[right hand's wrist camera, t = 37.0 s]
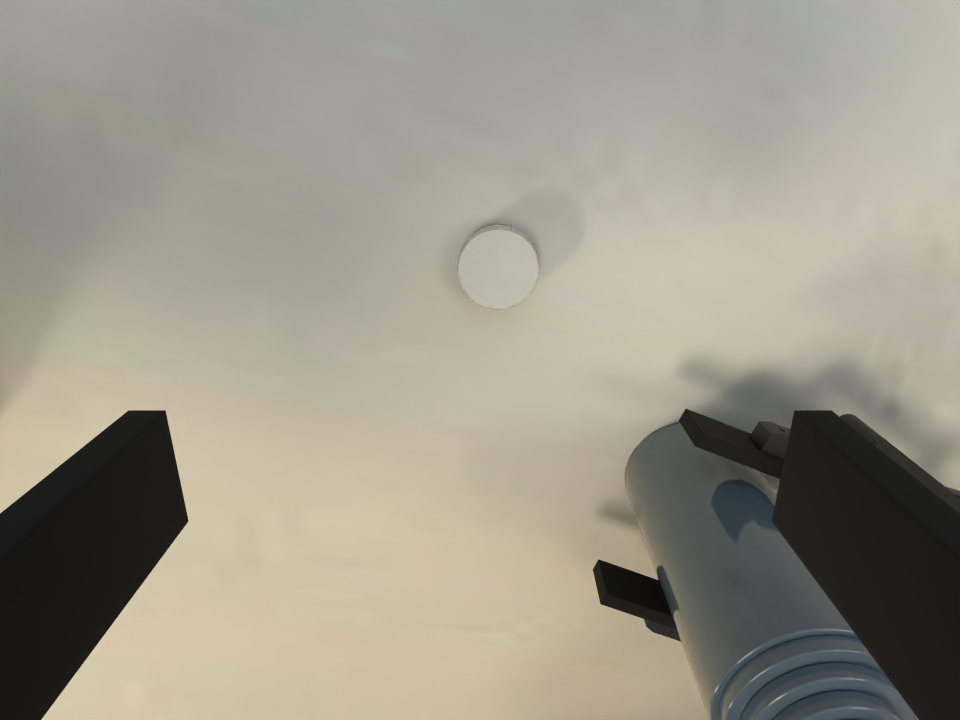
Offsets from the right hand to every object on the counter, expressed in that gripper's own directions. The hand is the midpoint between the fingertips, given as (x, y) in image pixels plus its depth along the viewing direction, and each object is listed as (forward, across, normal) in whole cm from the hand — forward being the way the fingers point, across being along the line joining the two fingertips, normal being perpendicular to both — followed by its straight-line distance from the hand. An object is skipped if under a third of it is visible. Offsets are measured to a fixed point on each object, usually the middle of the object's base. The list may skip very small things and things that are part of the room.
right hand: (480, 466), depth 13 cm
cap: (+20, +1, 0) cm, 20 cm away
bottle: (+21, +13, -13) cm, 28 cm away
